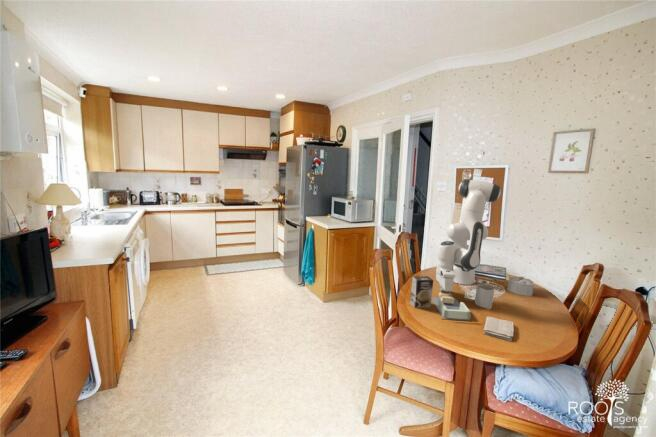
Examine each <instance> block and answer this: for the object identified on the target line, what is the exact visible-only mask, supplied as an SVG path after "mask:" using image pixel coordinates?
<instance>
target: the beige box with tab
mask: <svg viewBox="0 0 656 437" xmlns="http://www.w3.org/2000/svg"><path fill="white" fill-rule="evenodd" d="M438 298H439V299H440V300H441V301H442V302H443V303H444V304H445V303H450V305H452V304H454V299H455V298H454V296H453V295H452V293H451V292H449V291H445V290H441V292H438Z"/></svg>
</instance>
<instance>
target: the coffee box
mask: <svg viewBox="0 0 656 437" xmlns="http://www.w3.org/2000/svg"><path fill="white" fill-rule="evenodd" d="M433 287H434V279H433V278H431V277H429V276H428V275H427V276H423V275H422V276H421V275H419V276H417V275H416V276H412V281H411V290H410V300H409V301H410V302H409V305H410V306H412V307H413V308H415V309H421V308H422V309H423V308H431V306H432V299H431V298H432V297H433Z"/></svg>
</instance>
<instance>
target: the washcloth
mask: <svg viewBox="0 0 656 437" xmlns="http://www.w3.org/2000/svg"><path fill="white" fill-rule="evenodd" d="M514 328H515V327H514V322H513V321H510V320H505V319H501V318H500V319H499V318H497V317H493V316H486V318H485V324H484V327H483V334H484V335H487V336H489V337H492V338H496V339H500V340H504V341H506V342H507V341H508V342H512V341H513V337H514Z"/></svg>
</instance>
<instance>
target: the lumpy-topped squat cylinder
mask: <svg viewBox="0 0 656 437" xmlns="http://www.w3.org/2000/svg"><path fill="white" fill-rule="evenodd" d="M508 278H509V279H508V283H507V290H508V291H509V292H511V293H512V294H513V293H514V294H516V295H520V296H521V295H522V296H525V297H527V296H528V297H532V296H533V293H534V287H535V284H534V281H533V280H532V279H530V278H525V277H524V276H512V277H508Z"/></svg>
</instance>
